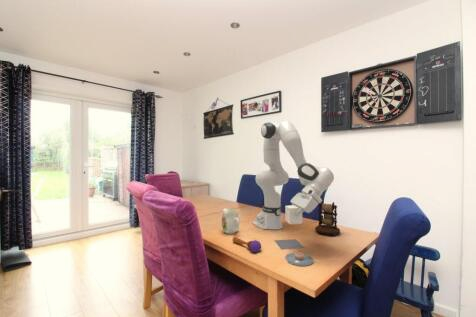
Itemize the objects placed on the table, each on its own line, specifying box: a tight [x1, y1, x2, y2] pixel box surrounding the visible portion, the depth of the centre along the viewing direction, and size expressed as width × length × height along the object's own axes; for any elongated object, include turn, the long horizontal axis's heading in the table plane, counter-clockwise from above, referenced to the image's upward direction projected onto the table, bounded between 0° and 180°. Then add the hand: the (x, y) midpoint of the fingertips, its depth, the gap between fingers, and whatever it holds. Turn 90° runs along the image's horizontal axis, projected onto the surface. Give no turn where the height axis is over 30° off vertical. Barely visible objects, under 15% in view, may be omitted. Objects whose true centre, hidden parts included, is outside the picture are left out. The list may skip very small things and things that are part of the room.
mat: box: [274, 238, 306, 250], centre depth 128 cm, size 13×13×1 cm
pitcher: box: [221, 208, 240, 235], centre depth 148 cm, size 11×18×14 cm, turn 33°
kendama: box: [232, 236, 262, 253], centre depth 124 cm, size 6×6×20 cm
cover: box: [284, 204, 303, 225], centre depth 120 cm, size 7×7×8 cm
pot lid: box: [284, 251, 315, 267], centre depth 110 cm, size 13×13×3 cm
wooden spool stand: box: [314, 200, 341, 237], centre depth 147 cm, size 15×15×20 cm
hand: (292, 213), depth 120 cm, fingers closed on cover, 7 cm apart
